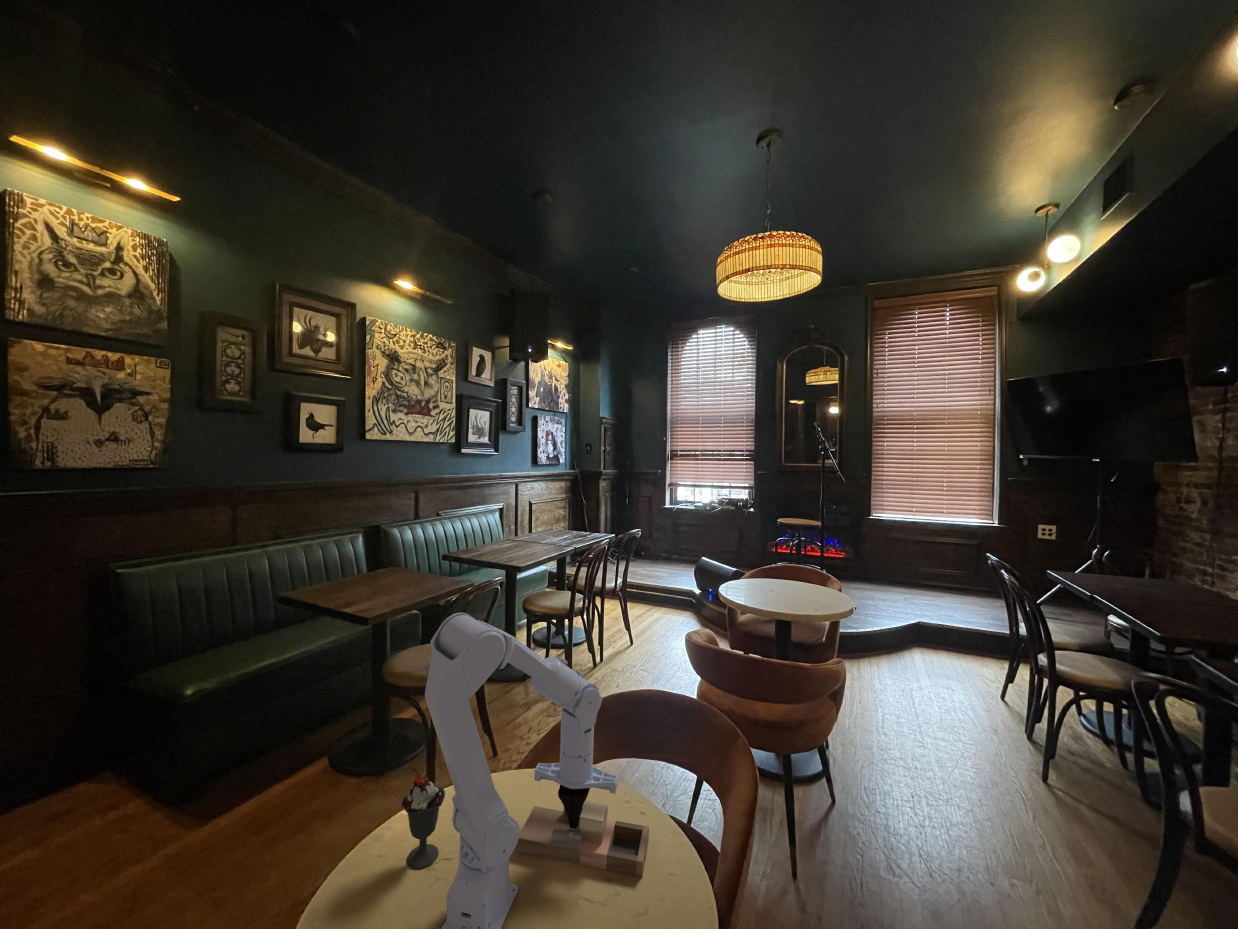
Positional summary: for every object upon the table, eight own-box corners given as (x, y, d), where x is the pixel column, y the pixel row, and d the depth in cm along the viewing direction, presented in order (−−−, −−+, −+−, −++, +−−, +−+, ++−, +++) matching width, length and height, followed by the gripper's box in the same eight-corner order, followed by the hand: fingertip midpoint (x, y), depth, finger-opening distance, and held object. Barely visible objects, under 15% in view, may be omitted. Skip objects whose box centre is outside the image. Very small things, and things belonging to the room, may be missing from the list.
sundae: (400, 848, 83) (401, 762, 83) (441, 836, 86) (443, 752, 86) (400, 879, 77) (402, 787, 77) (445, 865, 80) (447, 776, 80)
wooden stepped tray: (642, 877, 79) (643, 850, 79) (517, 852, 83) (518, 826, 83) (648, 840, 87) (649, 815, 86) (533, 819, 91) (534, 795, 90)
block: (601, 844, 82) (602, 821, 82) (578, 839, 83) (579, 816, 83) (606, 826, 86) (607, 804, 86) (585, 822, 87) (586, 800, 87)
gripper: (622, 740, 87) (619, 814, 88) (544, 729, 90) (542, 801, 90) (614, 765, 80) (611, 845, 81) (530, 752, 83) (528, 830, 84)
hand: (574, 824), depth 85 cm, fingers closed
